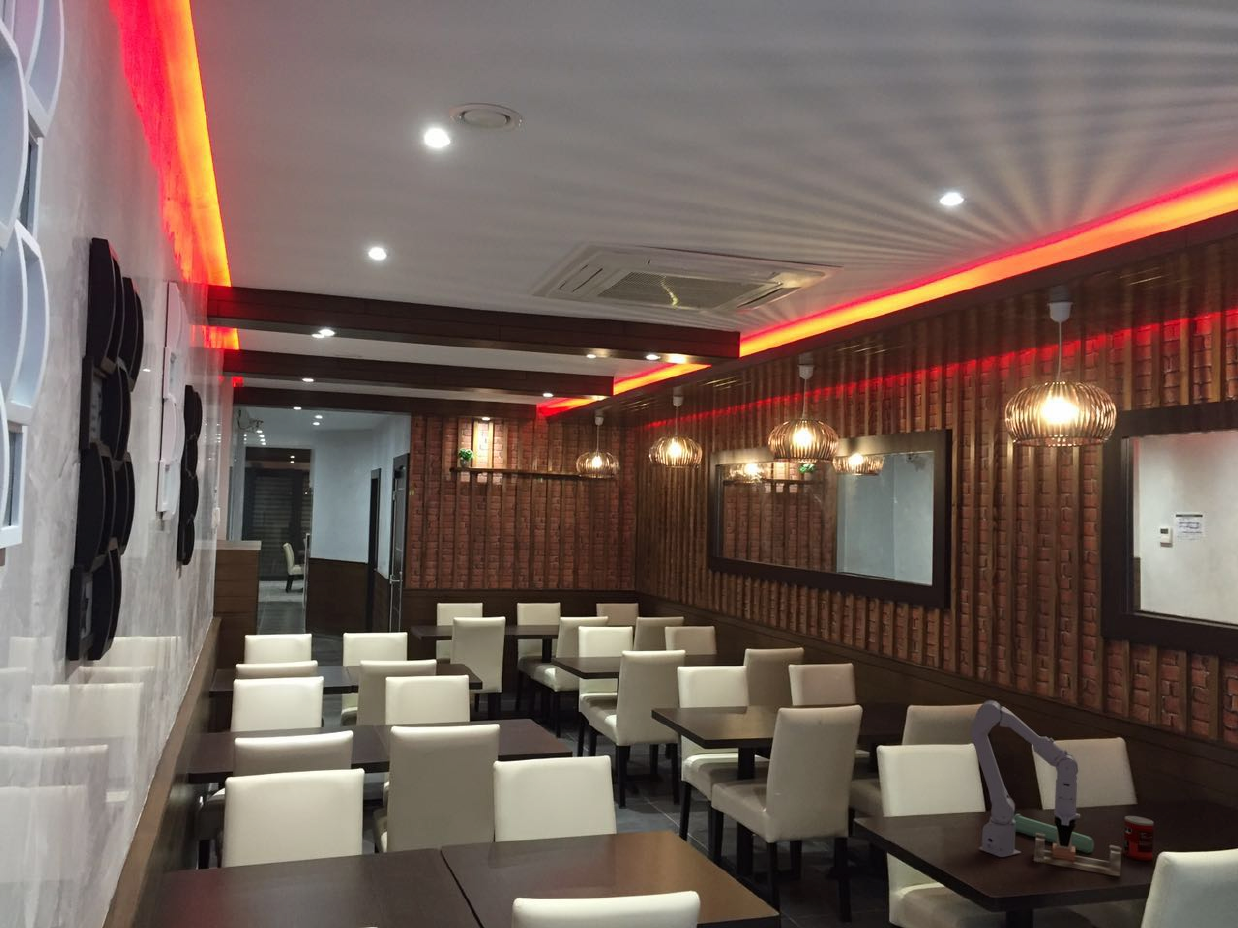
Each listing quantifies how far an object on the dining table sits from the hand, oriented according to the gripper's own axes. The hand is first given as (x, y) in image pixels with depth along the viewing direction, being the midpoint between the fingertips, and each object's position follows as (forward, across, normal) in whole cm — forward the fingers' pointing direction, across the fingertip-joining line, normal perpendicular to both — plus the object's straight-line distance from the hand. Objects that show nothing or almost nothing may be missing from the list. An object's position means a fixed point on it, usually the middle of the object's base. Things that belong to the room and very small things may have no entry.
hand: (1064, 844), depth 298 cm
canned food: (+5, +20, -21) cm, 30 cm away
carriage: (+4, 0, 0) cm, 4 cm away
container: (+6, +21, +3) cm, 22 cm away
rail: (+5, 0, -4) cm, 6 cm away
